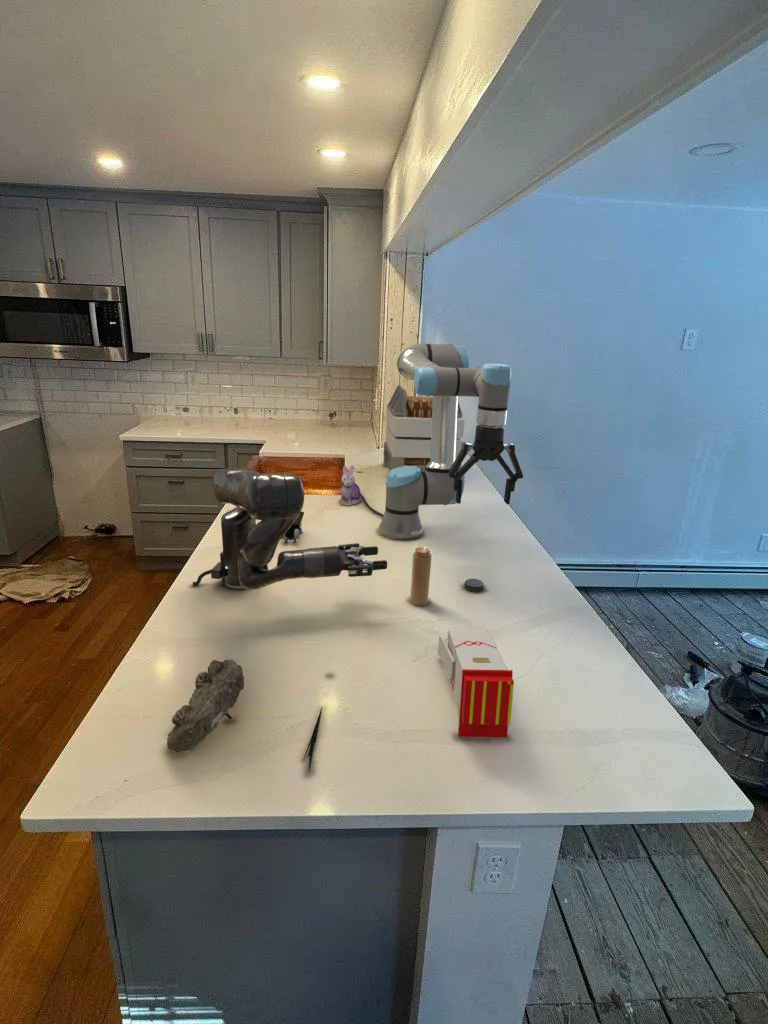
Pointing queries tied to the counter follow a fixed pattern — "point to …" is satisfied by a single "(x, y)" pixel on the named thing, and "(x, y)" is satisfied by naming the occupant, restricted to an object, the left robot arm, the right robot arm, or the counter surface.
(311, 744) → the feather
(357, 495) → the figurine
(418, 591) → the jar
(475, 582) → the lid
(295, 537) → the figurine character
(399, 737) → the counter surface
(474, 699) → the toy
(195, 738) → the fossil
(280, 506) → the left robot arm
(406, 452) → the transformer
